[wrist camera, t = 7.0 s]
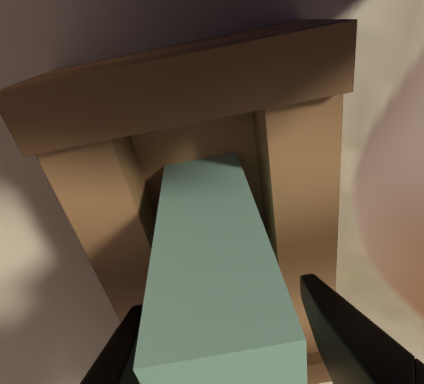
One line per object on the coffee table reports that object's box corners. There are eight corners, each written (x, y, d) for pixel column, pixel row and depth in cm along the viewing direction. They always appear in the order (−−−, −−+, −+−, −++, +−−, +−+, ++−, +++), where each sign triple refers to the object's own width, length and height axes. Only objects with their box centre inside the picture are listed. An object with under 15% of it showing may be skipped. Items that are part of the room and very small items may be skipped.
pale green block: (257, 292, 14) (312, 505, 8) (201, 302, 14) (212, 522, 8) (237, 151, 10) (309, 338, 4) (163, 165, 10) (129, 370, 4)
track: (309, 313, 16) (336, 380, 13) (164, 339, 17) (159, 411, 14) (302, 19, 9) (357, 18, 6) (52, 70, 10) (-11, 93, 7)
